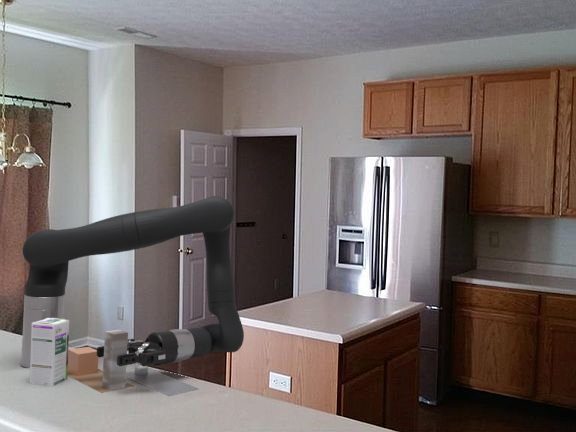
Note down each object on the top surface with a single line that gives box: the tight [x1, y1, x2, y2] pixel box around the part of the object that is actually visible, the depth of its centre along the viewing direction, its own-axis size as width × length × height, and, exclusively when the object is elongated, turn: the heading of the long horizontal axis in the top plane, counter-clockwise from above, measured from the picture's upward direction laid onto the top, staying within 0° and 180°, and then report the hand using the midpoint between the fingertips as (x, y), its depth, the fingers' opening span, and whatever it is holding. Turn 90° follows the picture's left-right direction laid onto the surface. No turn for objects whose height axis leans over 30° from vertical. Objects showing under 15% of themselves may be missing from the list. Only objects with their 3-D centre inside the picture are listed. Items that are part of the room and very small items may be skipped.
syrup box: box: [29, 318, 70, 387], centre depth 130 cm, size 6×6×14 cm
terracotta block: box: [68, 346, 100, 376], centre depth 138 cm, size 5×5×5 cm
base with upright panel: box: [67, 329, 135, 394], centre depth 133 cm, size 20×8×13 cm, turn 46°
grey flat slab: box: [126, 365, 199, 397], centre depth 134 cm, size 20×8×2 cm, turn 46°
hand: (107, 356), depth 126 cm, fingers open, 8 cm apart
